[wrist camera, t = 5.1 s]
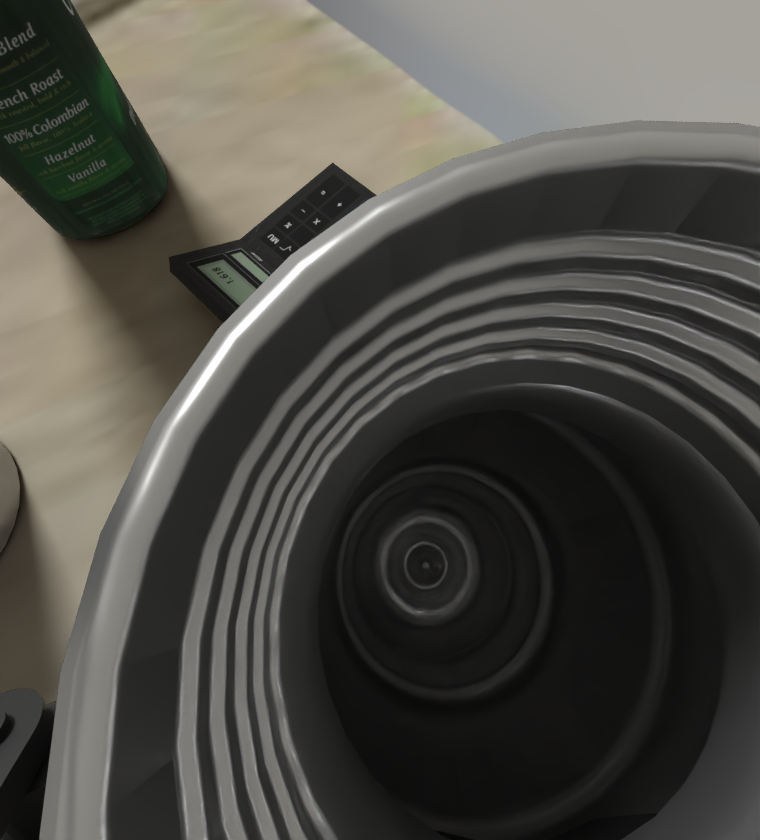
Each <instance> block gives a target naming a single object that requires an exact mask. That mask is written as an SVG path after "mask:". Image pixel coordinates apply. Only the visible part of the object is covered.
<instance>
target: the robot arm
mask: <svg viewBox="0 0 760 840" xmlns="http://www.w3.org/2000/svg"><path fill="white" fill-rule="evenodd" d="M19 499H20V483H19V477H18V472H17V467H16V465H15V463H14V461H13V459H12V456H11V454H10V453H9V451H8V450H7V449H6V448H5V447H4V445H3V444H2V443H1V442H0V553H1V551H2V550H3V548H4V547H5V545H6V543H7V540H8V538H9V536H10V534H11V531H12V529H13V527H14V524H15V520H16V516H17V512H18V508H19ZM56 703H57V701H55V702H53V703H50V704H48V705H47V704H46V703H45V701H44V700H43V699H42V697H41V696H40V695H39V694H38V693H37V692H36V691H34V690H31V689H16V690H11V691H8V692H4V693H2V694H0V840H39V836H40V828H41V820H42V813H43V805H44V797H45V789H46V781H47V773H48V765H49V758H50V750H51V742H52V734H53V726H54V718H55V711H56ZM657 814H658V813H651V814H638V815H626V816H613V817H601V818H594V819H592V820H590V821H588V822H586V823H583V824H581V825H579V826H577V827H575V828H573V829H571V830H569V831H566V832H564V833H562V834H560V835H558V836H556V837H554V838H552V839H549V840H622V839H623V838H625V837H626V836H627V835H629V834H630V833H632V832H633V831H635V830H636V829H638V828H639V827H641V826H642V825H644V824H645V823H647V822H648V821H650V820H651V819H653V818H654V817H655V816H656V815H657ZM436 832H437V833H439V834H440V835H442V836H444V837H446V838H449V839H451V840H473V839H469V838H465V837H461V836H457V835H454V834H450V833H446V832H442V831H436Z"/></svg>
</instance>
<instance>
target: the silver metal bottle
mask: <svg viewBox="0 0 760 840" xmlns="http://www.w3.org/2000/svg"><path fill="white" fill-rule="evenodd" d="M651 813H658V814H657V815H656V816H655V817H654V818H653V819H651V820H650V821H648V822H647V823H645V824H644V825H642V826H641V827H639V828H638V829H636V830H635V831H633V832H632V833H630V834H629V835H627V836H626V837H625V838H623V839H622V840H760V127H756V126H750V125H745V124H739V123H708V122H673V121H672V122H671V121H670V122H669V121H630V122H623V123H614V124H607V125H598V126H590V127H582V128H574V129H567V130H558V131H551V132H543V133H539V134H536V135H532V136H529V137H526V138H522V139H519V140H515V141H512V142H509V143H505V144H501V145H498V146H495V147H491V148H488V149H484V150H481V151H477V152H474V153H471V154H467V155H464V156H460V157H457V158H453V159H451V160H449V161H447V162H445V163H443V164H441V165H439V166H437V167H435V168H433V169H431V170H429V171H426V172H424V173H422V174H420V175H418V176H416V177H414V178H412V179H410V180H408V181H406V182H404V183H402V184H399V185H397V186H395V187H393V188H391V189H389V190H387V191H385V192H383V193H381V194H379V195H377V196H375V197H373V198H370V199H369V200H367V201H366V202H364V203H363V204H362V205H360V206H359V207H357V208H356V209H355V210H353V211H352V212H350V213H349V214H348V215H346V216H345V217H343V218H342V219H341V220H339V221H338V222H336V223H335V224H334V225H332V226H331V227H329V228H328V229H327V230H325V231H324V232H322V233H321V234H320V235H318V236H317V237H315V238H314V239H313V240H311V241H310V242H308V243H307V244H306V245H304V246H303V247H301V248H300V249H299V250H297V251H296V252H294V253H293V254H292V255H290V256H289V257H288V258H287V259H286V260H285V261H284V262H283V263H282V264H281V265H280V266H279V267H278V268H277V269H276V270H275V271H274V272H273V273H272V274H271V275H270V277H269V278H268V279H267V280H266V281H265V282H264V283H263V284H262V285H261V286H260V287H259V288H258V289H257V290H256V291H255V292H254V293H253V294H252V295H251V296H250V297H249V298H248V299H247V300H246V301H245V302H244V303H243V304H242V305H241V306H240V307H239V308H238V309H237V310H236V311H235V312H234V313H233V314H232V315H231V316H230V317H229V318H228V319H227V320H226V321H225V322H224V323H223V324H222V325H221V326H220V327H219V328H218V330H217V331H216V332H215V334H214V335H213V337H212V338H211V340H210V341H209V342H208V344H207V345H206V347H205V348H204V350H203V351H202V352H201V354H200V355H199V357H198V358H197V360H196V361H195V363H194V364H193V365H192V367H191V368H190V370H189V371H188V373H187V374H186V375H185V377H184V378H183V380H182V381H181V383H180V384H179V385H178V387H177V388H176V390H175V391H174V393H173V394H172V395H171V397H170V398H169V400H168V401H167V403H166V404H165V405H164V407H163V408H162V410H161V411H160V413H159V414H158V416H157V417H156V418H155V420H154V422H153V424H152V426H151V428H150V430H149V432H148V434H147V437H146V439H145V441H144V443H143V445H142V447H141V449H140V451H139V453H138V456H137V458H136V460H135V462H134V464H133V466H132V468H131V470H130V472H129V475H128V477H127V479H126V481H125V483H124V485H123V487H122V489H121V491H120V493H119V496H118V498H117V500H116V502H115V504H114V506H113V508H112V510H111V512H110V515H109V517H108V519H107V521H106V523H105V525H104V527H103V529H102V531H101V534H100V537H99V540H98V544H97V547H96V551H95V554H94V558H93V561H92V565H91V568H90V571H89V575H88V578H87V582H86V585H85V589H84V592H83V596H82V599H81V602H80V606H79V609H78V613H77V616H76V620H75V623H74V627H73V630H72V634H71V637H70V640H69V644H68V647H67V651H66V654H65V658H64V661H63V665H62V668H61V671H60V679H59V687H58V695H57V703H56V711H55V718H54V726H53V734H52V742H51V750H50V758H49V765H48V773H47V781H46V789H45V797H44V805H43V813H42V820H41V828H40V836H39V840H451V839H449V838H446V837H444V836H442V835H440V834H439V833H437V832H436V831H442V832H446V833H450V834H454V835H457V836H461V837H465V838H469V839H473V840H549V839H552V838H554V837H556V836H558V835H560V834H562V833H564V832H566V831H569V830H571V829H573V828H575V827H577V826H579V825H581V824H583V823H586V822H588V821H590V820H592V819H594V818H601V817H613V816H626V815H638V814H651Z"/></svg>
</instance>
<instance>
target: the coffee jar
mask: <svg viewBox="0 0 760 840" xmlns="http://www.w3.org/2000/svg"><path fill="white" fill-rule="evenodd" d="M0 176H1V177H2V178H3V179H4V180H5V181H6V182H7V183H8V184H9V185H10V186H11V187H12V188H13V189H14V190H15V191H16V192H17V193H18V194H19V195H20V196H21V197H22V198H23V199H24V200H25V201H26V202H27V203H28V204H29V205H30V206H31V207H32V208H33V209H34V210H35V211H36V212H37V213H38V214H39V215H40V216H41V217H42V218H43V219H44V220H45V221H46V222H47V223H48V224H49V225H50V226H51V227H53V228H54V229H55V230H56V231H57V232H59V233H60V234H62V235H64V236H67V237H70V238H75V239H91V238H95V237H99V236H104V235H109V234H112V233H115V232H117V231H120V230H123V229H125V228H128V227H129V226H131V225H132V224H134V223H136V222H137V221H139V220H141V219H142V218H143V217H144V216H145V215H146V214H147V213H148V212H150V211H151V210H152V209H153V208H154V207H155V206H156V205H157V204H158V203H159V202H160V200H161V199H162V197H163V196H164V195H165V192H166V189H167V175H166V171H165V168H164V165H163V162H162V160H161V157H160V155H159V153H158V151H157V149H156V147H155V145H154V143H153V142H152V140H151V138H150V137H149V135H148V133H147V131H146V130H145V128H144V126H143V124H142V123H141V121H140V119H139V117H138V116H137V114H136V112H135V111H134V109H133V107H132V105H131V104H130V102H129V100H128V99H127V97H126V95H125V94H124V92H123V90H122V89H121V87H120V85H119V84H118V82H117V80H116V79H115V77H114V75H113V74H112V72H111V70H110V69H109V67H108V65H107V64H106V62H105V60H104V58H103V57H102V55H101V53H100V51H99V50H98V48H97V46H96V44H95V43H94V41H93V39H92V37H91V36H90V34H89V32H88V31H87V29H86V27H85V25H84V24H83V22H82V20H81V18H80V17H79V15H78V13H77V11H76V10H75V8H74V6H73V4H72V3H71V1H70V0H0Z"/></svg>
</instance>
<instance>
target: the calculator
mask: <svg viewBox="0 0 760 840" xmlns="http://www.w3.org/2000/svg"><path fill="white" fill-rule="evenodd" d="M375 196H377V195H375V194H374V193H373V192H371V191H370V190H369V189H367V188H366V187H365V186H363V185H362V184H360V183H359V182H358V181H356V180H355V179H354V178H352V177H351V176H350V175H348V174H347V173H346V172H344V171H343V170H342V169H340V168H339V167H338V166H336V165H335V164H334V163H332V164H331V165H329V166H328V167H327V168H326V169H325V170H323V171H322V172H321V173H320V174H319V175H317V176H316V177H315V178H314V179H312V180H311V181H310V182H309V183H308V184H306V185H305V186H304V187H303V188H302V189H300V190H299V191H298V192H297V193H296V194H294V195H293V196H292V197H291V198H290V199H288V200H287V201H286V202H285V203H284V204H282V205H281V206H280V207H279V208H277V209H276V210H275V211H274V212H273V213H271V214H270V215H269V216H268V217H267V218H265V219H264V220H263V221H262V222H261V223H259V224H258V225H257V226H256V227H255V228H253V229H252V230H251V231H250V232H249V233H247V234H246V235H245V236H244V237H242V238H241V239H240V240H236V241H232V242H228V243H224V244H220V245H216V246H212V247H208V248H204V249H200V250H196V251H192V252H188V253H184V254H180V255H176V256H172V257H169V262H170V272H171V273H172V274H173V275H174V276H176V277H177V278H178V279H179V280H180V281H181V282H182V283H183V284H184V285H185V286H186V287H187V288H188V289H189V290H190V291H191V292H192V293H193V294H194V295H195V296H196V297H197V298H198V299H200V300H201V301H202V302H203V303H204V304H205V305H206V306H207V307H208V308H209V309H210V310H211V311H212V312H213V313H214V314H215V315H216V316H217V317H218V318H219V319H220V320H221V321H223V322H225V321H226V320H227V319H228V318H229V317H230V316H231V315H232V314H233V313H234V312H235V311H236V310H237V309H238V308H239V307H240V306H241V305H242V304H243V303H244V302H245V301H246V300H247V299H248V298H249V297H250V296H251V295H252V294H253V293H254V292H255V291H256V290H257V289H258V288H259V287H260V286H261V285H262V284H263V283H264V282H265V281H266V280H267V279H268V278H269V277H270V275H271V274H272V273H273V272H274V271H275V270H276V269H277V268H278V267H279V266H280V265H281V264H282V263H283V262H284V261H285V260H286V259H287V258H288V257H289V256H290V255H292V254H293V253H294V252H296V251H297V250H299V249H300V248H301V247H303V246H304V245H306V244H307V243H308V242H310V241H311V240H313V239H314V238H315V237H317V236H318V235H320V234H321V233H322V232H324V231H325V230H327V229H328V228H329V227H331V226H332V225H334V224H335V223H336V222H338V221H339V220H341V219H342V218H343V217H345V216H346V215H348V214H349V213H350V212H352V211H353V210H355V209H356V208H357V207H359V206H360V205H362V204H363V203H364V202H366V201H367V200H369V199H370V198H373V197H375Z"/></svg>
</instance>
